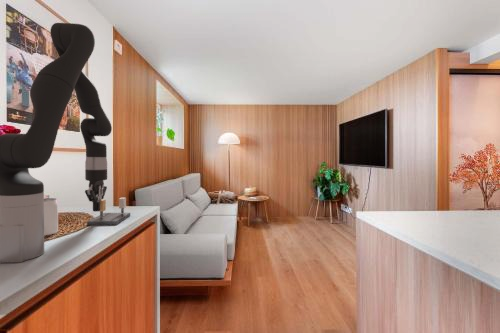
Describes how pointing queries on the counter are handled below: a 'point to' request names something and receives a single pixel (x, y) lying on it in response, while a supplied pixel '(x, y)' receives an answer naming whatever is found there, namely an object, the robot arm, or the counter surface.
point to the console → (108, 219)
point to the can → (50, 216)
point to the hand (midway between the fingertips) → (96, 210)
